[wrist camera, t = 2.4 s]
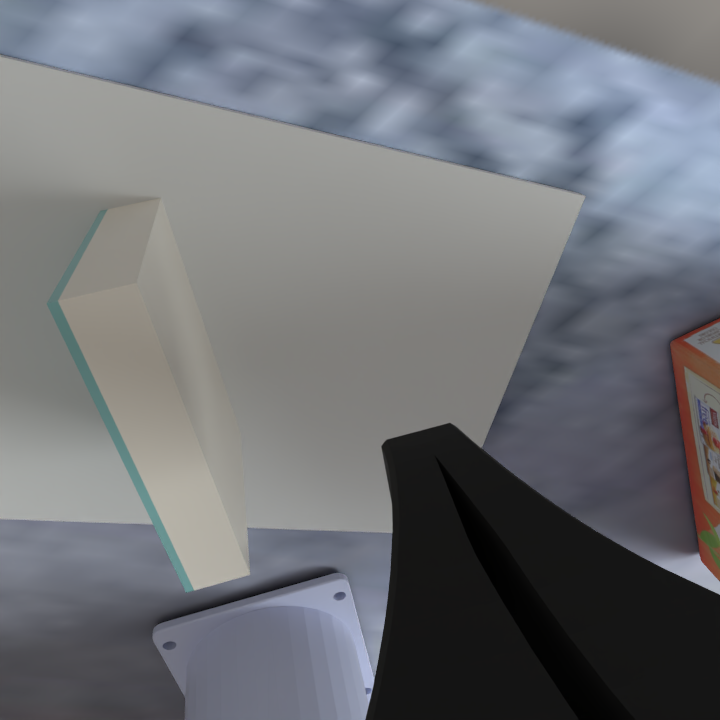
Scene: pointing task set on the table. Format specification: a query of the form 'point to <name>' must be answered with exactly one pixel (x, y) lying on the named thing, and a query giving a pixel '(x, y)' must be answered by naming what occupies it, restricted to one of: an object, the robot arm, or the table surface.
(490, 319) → the mat
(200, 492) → the tile
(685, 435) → the cracker box
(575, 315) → the table surface
